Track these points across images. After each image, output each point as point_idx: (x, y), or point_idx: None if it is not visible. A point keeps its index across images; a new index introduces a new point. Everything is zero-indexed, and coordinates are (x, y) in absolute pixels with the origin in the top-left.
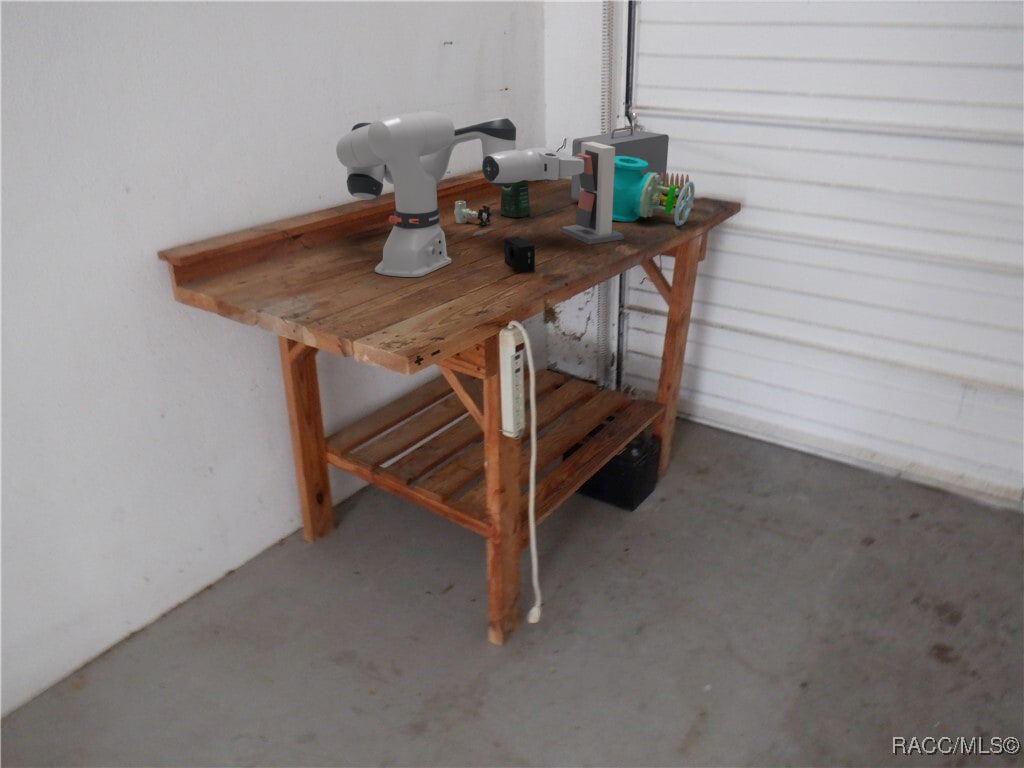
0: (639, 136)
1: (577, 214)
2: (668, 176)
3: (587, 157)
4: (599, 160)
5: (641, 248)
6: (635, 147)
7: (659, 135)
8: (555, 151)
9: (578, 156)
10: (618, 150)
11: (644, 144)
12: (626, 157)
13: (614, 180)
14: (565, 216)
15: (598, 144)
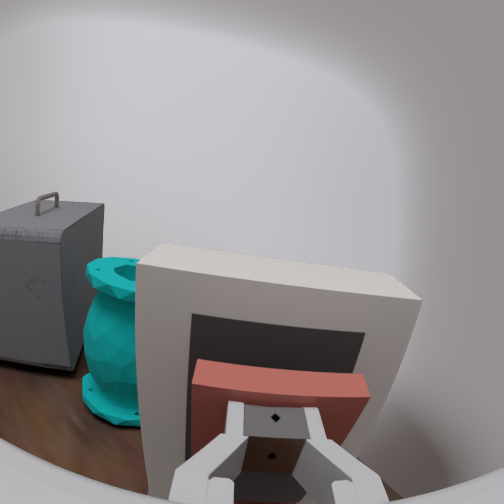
0: (74, 208)
1: None
2: None
3: (369, 396)
4: (365, 369)
5: (392, 498)
6: (85, 230)
7: (98, 205)
8: (2, 445)
9: (268, 414)
10: (71, 242)
11: (91, 222)
12: (114, 261)
13: (132, 339)
14: (18, 445)
15: (268, 264)
